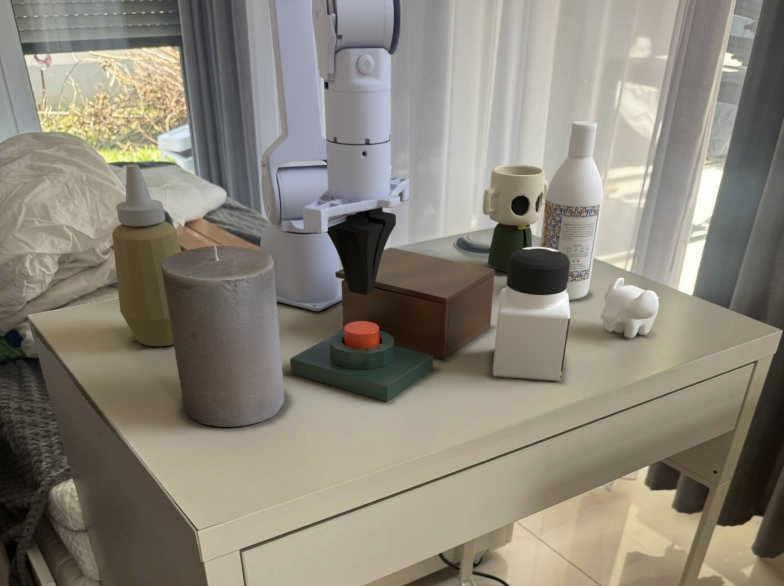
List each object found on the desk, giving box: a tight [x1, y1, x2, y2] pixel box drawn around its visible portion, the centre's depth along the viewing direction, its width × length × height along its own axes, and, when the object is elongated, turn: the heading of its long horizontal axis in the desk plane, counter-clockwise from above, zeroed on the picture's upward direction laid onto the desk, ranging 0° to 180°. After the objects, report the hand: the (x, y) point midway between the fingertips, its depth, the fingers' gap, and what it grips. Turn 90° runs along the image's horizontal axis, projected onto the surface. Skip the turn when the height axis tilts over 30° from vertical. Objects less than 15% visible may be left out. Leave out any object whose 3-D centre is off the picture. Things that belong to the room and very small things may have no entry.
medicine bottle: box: [492, 246, 571, 382], centre depth 80 cm, size 7×7×12 cm
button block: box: [289, 330, 434, 403], centre depth 80 cm, size 12×9×4 cm
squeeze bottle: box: [112, 163, 183, 347], centre depth 82 cm, size 8×8×18 cm
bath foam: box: [539, 120, 604, 301], centre depth 96 cm, size 7×7×20 cm
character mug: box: [482, 164, 549, 273], centre depth 106 cm, size 11×7×13 cm, turn 123°
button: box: [344, 321, 379, 349], centre depth 79 cm, size 4×4×2 cm
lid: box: [335, 246, 496, 304], centre depth 87 cm, size 14×11×1 cm
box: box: [340, 275, 495, 361], centre depth 89 cm, size 13×11×6 cm
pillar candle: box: [161, 244, 285, 428], centre depth 70 cm, size 10×10×15 cm
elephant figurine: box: [598, 277, 660, 339], centre depth 89 cm, size 7×8×6 cm
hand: (361, 291), depth 76 cm, fingers closed
